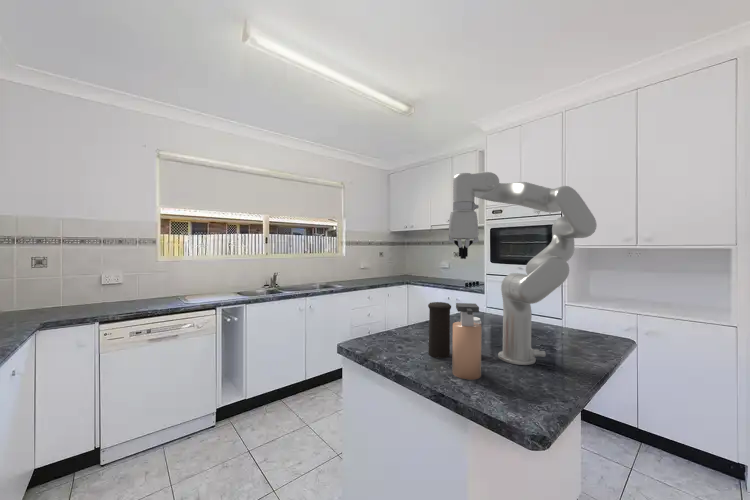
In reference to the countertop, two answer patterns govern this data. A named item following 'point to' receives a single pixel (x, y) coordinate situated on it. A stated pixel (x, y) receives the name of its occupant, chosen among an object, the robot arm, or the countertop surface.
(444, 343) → the container
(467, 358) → the pump dispenser
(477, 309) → the pump head
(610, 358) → the countertop surface
